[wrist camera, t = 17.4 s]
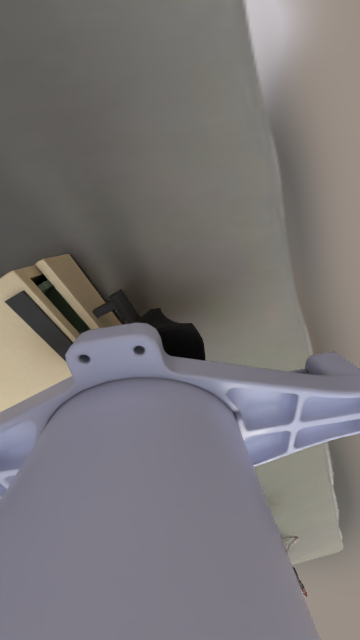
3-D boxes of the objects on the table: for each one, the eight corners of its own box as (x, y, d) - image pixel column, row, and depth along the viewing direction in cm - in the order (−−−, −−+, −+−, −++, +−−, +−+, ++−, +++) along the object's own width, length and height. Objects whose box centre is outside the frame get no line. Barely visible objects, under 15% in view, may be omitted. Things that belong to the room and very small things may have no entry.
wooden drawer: (-52, 326, 14) (-104, 348, 12) (98, 236, 13) (79, 236, 10) (71, 423, 20) (56, 453, 17) (186, 371, 18) (190, 396, 16)
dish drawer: (-56, 329, 15) (-151, 370, 10) (62, 258, 13) (9, 270, 9) (65, 423, 21) (38, 476, 16) (157, 382, 19) (156, 427, 15)
